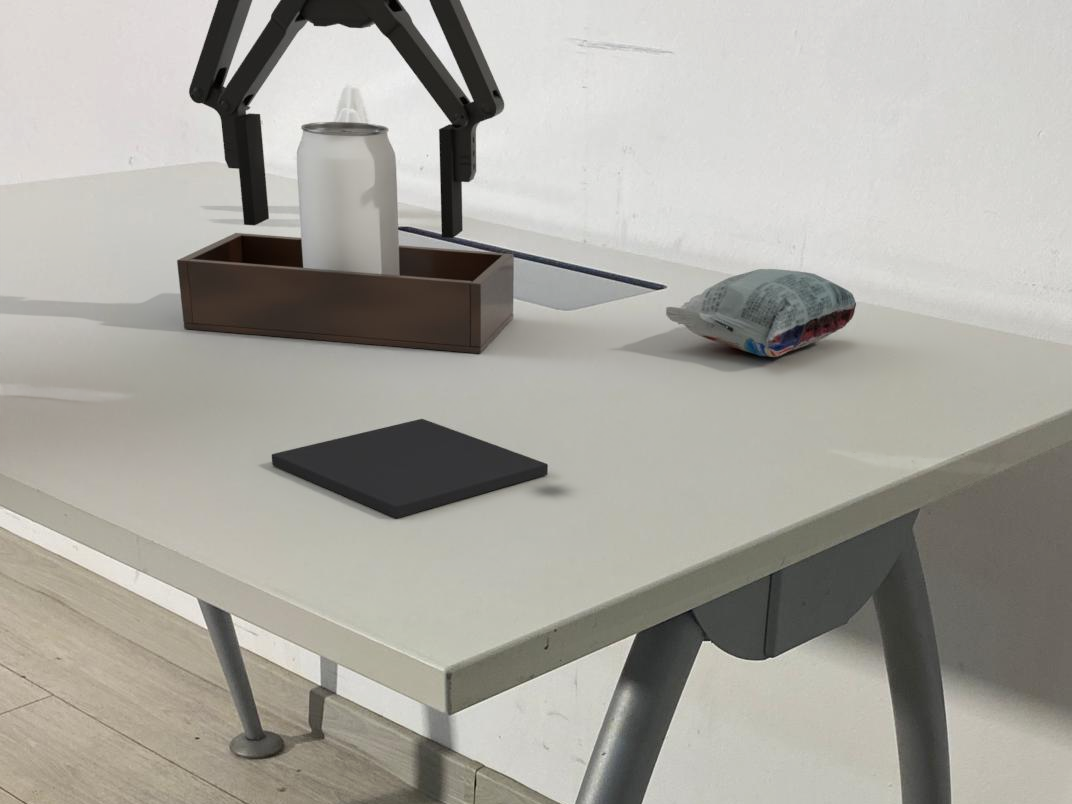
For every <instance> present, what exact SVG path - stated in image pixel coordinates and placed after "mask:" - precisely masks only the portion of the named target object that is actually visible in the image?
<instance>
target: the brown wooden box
mask: <svg viewBox="0 0 1072 804" xmlns="http://www.w3.org/2000/svg"><path fill="white" fill-rule="evenodd" d="M176 265H177V274H178V283H179V294H180V302H181V310H182V311H181V312H182V319H183V321H182V322H183V328H184V330H195V331H208V332H217V333H218V332H220V333H232V334H242V335H256V336H266V337H279V338H291V339H300V340H301V339H304V340H314V341H315V340H316V341H326V342H327V341H328V342H336V343H337V342H339V343H350V344H363V345H374V346H385V347H386V346H387V347H396V348H397V347H399V348H409V349H420V350H421V349H422V350H435V351H445V352H457V353H469V354H482V353H483V351H485V350H486V349H487V347H488V346H489V345H490V344H491V343H492V342H493V341H494V340H495V339H496V337H498V335H499V334H500V333H501V332H502V331H503V330H504V329H505V328H506V327H507V326H508V325H509V324H510V322H511V321H512V320H513V319H514V283H515V282H514V280H515V279H514V271H515V269H514V267H515V256H514V253H504V252H495V251H494V252H492V251H480V250H466V249H465V250H464V249H453V248H439V247H429V246H428V247H427V246H415V245H402V244H401V245H400V244H399V273H400V275H387V274H375V273H362V272H349V271H337V270H324V269H311V268H303V257H302V241H301V237H297V236H285V235H284V236H282V235H270V234H257V233H256V234H255V233H245V232H244V233H242V232H234V233H233V234H232V233H231V234H230V235H227V236H226V237H224V238H222V239H219V240H217V241H216V242H213V243H211V244H209V245H207V246H204V247H202V248H200V249H198V250H195V251H194V252H192V253H190V254H187V255H185V256H183V257H181V258H179V259H177V260H176Z"/></svg>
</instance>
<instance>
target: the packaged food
mask: <svg viewBox="0 0 1072 804" xmlns="http://www.w3.org/2000/svg"><path fill="white" fill-rule="evenodd" d="M856 306H857V303H856V299H855V296H854V294H853V293H852V292H851V291H849V290H848V289H846V288H844V287H842V286H840V285H838V284H836V283H834V282H832V281H831V280H828V279H827V278H825V277H822V276H819V275H818V274H816V273H813V272H806V271H799V270H790V269H789V270H788V269H779V268H759V269H755V270H751V271H747V272H744V273H740V274H737V275H734V276H730V277H728V278H725V279H723V280H721V281H719V282H717V283H716V284H714V285H711V286H710V287H708V288H706V289H704V291H703V292H702V293H700V294H697V295H694V296H692V297H691V298H690V299H689V301H686V302H684V303H683V305H681V306H679V307H676V306H667V307H665V316H666V317H667V318H668V319H669V320H670V321H672V322H674V323H677V324H678V325H683V326H685V328H687V330H689V332H691V333H693V334H694V335H696V336H699V337H702V338H705V339H707V340H710V341H713V342H716V343H719V344H721V345H724V346H728V347H731V348H734V349H736V350H740V351H742V352H747V353H750V354H753V355H756V356H758V357H768V358H769V357H770V358H777V357H781V356H782V355H785V354H786V353H787V354H788V352H791V351H796V350H798V349H800V348H803V347H806V346H808V345H811V344H813V343H816V342H818V341H821V340H823V339H825V338H827V337H828V336H830V335H832V334H834V333H837V332H838V331H839V330H841V329H843V328H845V327H846V326H847V324H848V323H850V321H851V320H852V319H853V318H854V315H855V313H856V312H855V310H856Z"/></svg>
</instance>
